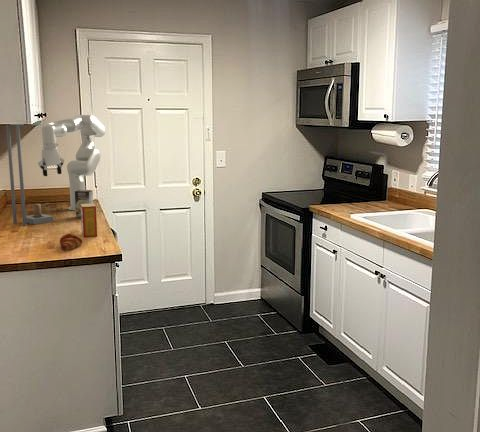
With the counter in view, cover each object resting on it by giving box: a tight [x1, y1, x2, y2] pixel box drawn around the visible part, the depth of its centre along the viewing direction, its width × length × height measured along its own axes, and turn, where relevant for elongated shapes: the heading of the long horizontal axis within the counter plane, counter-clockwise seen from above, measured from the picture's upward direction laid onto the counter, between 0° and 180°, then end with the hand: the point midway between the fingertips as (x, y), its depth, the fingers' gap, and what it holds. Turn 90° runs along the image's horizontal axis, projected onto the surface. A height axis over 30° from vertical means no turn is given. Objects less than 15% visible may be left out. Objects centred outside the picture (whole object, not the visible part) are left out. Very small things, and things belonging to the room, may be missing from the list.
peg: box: [32, 203, 42, 218], centre depth 303 cm, size 4×4×10 cm
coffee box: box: [75, 189, 94, 219], centre depth 317 cm, size 9×6×16 cm
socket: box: [26, 213, 54, 225], centre depth 303 cm, size 12×12×3 cm
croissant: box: [59, 232, 83, 251], centre depth 246 cm, size 21×10×8 cm, turn 4°
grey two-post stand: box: [5, 120, 41, 227], centre depth 295 cm, size 14×12×57 cm
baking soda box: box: [80, 202, 98, 239], centre depth 268 cm, size 10×6×16 cm
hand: (52, 174), depth 318 cm, fingers open, 9 cm apart
